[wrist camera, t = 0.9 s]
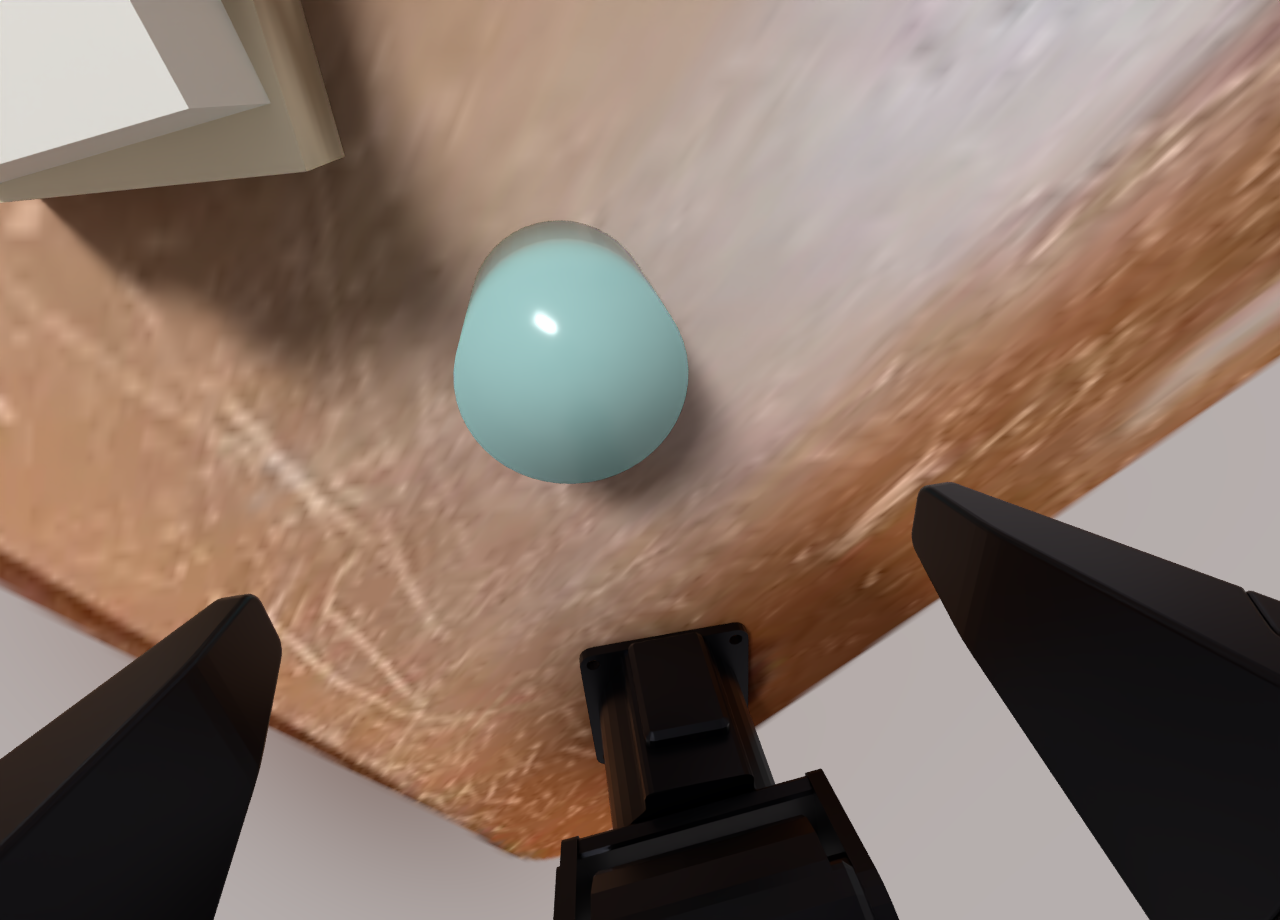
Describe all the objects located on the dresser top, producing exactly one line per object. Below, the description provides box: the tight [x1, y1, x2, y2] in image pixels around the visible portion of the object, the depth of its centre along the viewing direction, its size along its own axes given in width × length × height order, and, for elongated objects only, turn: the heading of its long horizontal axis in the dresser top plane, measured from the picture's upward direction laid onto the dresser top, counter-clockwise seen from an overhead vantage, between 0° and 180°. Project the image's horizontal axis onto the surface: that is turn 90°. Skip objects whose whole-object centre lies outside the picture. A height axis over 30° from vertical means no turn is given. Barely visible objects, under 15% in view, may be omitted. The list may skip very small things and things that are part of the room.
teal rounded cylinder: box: [454, 221, 688, 484], centre depth 16 cm, size 5×5×5 cm
